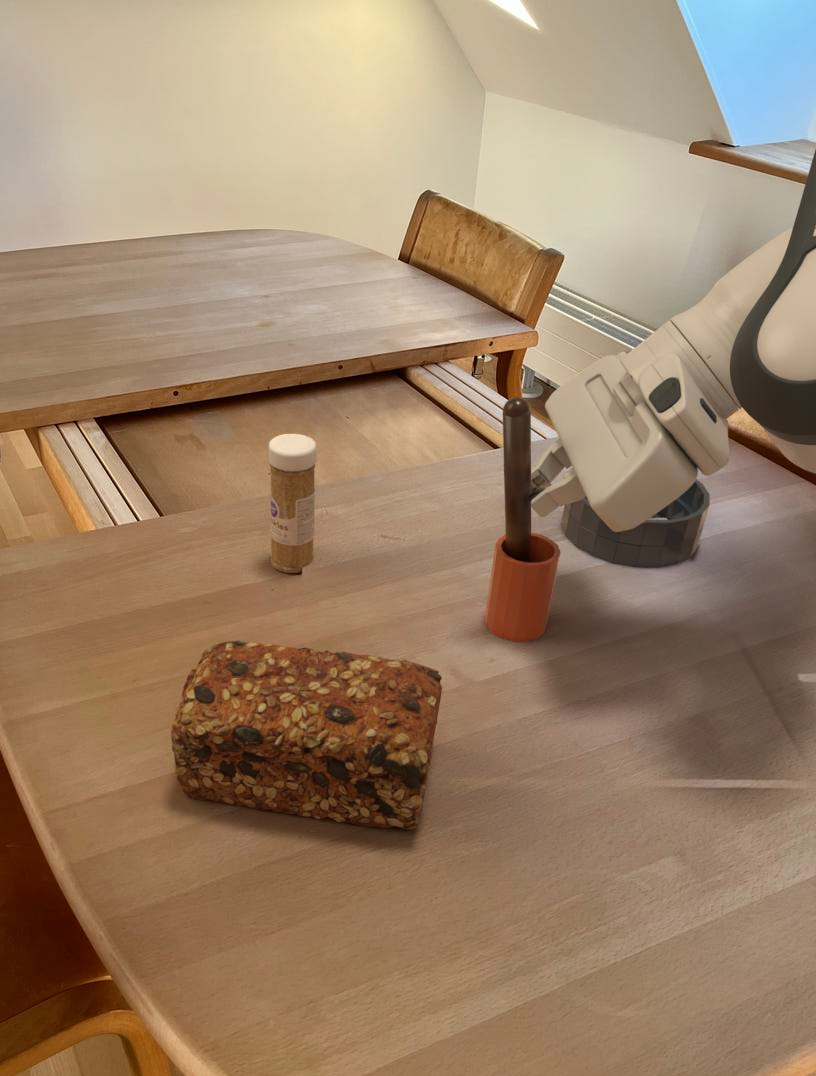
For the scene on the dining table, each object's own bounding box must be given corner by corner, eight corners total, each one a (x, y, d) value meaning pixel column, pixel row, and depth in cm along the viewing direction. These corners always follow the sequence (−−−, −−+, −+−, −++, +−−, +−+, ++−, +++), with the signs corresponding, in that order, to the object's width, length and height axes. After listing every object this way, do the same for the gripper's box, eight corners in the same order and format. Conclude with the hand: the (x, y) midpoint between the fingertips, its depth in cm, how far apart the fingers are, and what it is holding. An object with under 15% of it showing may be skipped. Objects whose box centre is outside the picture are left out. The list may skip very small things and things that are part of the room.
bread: (437, 746, 78) (448, 648, 72) (418, 846, 70) (430, 745, 64) (215, 710, 81) (208, 613, 75) (171, 802, 72) (160, 701, 66)
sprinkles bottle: (261, 561, 99) (258, 440, 91) (295, 546, 101) (295, 427, 93) (289, 580, 96) (289, 457, 88) (324, 564, 99) (326, 443, 91)
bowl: (673, 505, 110) (686, 457, 107) (713, 574, 99) (729, 523, 95) (549, 503, 110) (558, 455, 106) (575, 572, 99) (586, 521, 95)
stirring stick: (529, 606, 90) (527, 390, 77) (533, 620, 88) (532, 402, 76) (505, 608, 90) (500, 394, 77) (509, 622, 88) (504, 405, 76)
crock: (538, 612, 93) (553, 532, 88) (549, 648, 89) (565, 565, 83) (480, 612, 93) (491, 531, 87) (488, 647, 88) (500, 565, 83)
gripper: (616, 317, 83) (490, 422, 89) (689, 416, 67) (529, 537, 72) (656, 367, 86) (531, 466, 92) (736, 475, 70) (578, 587, 75)
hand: (530, 498), depth 82 cm, fingers closed on stirring stick, 2 cm apart
